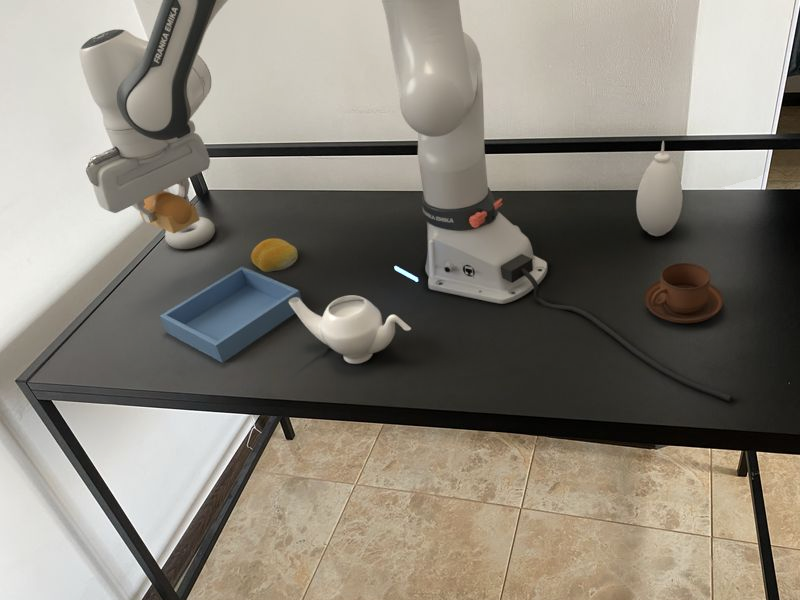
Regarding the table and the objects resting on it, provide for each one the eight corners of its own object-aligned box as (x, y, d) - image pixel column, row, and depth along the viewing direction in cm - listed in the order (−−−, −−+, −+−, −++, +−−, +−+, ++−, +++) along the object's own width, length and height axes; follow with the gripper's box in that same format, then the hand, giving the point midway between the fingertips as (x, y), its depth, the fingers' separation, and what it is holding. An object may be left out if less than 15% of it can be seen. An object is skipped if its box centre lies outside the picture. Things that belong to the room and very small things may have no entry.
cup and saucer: (696, 340, 113) (700, 306, 109) (629, 312, 120) (630, 280, 116) (736, 302, 119) (741, 269, 115) (669, 278, 126) (672, 247, 122)
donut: (159, 253, 151) (204, 252, 149) (153, 238, 149) (199, 237, 147) (181, 228, 159) (224, 227, 157) (176, 214, 157) (219, 212, 155)
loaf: (202, 221, 130) (193, 194, 127) (176, 235, 127) (166, 207, 124) (166, 206, 136) (156, 180, 133) (140, 219, 133) (129, 193, 130)
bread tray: (304, 309, 130) (299, 290, 127) (223, 365, 120) (215, 345, 117) (248, 285, 138) (242, 266, 135) (167, 335, 128) (159, 315, 125)
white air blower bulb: (687, 231, 137) (696, 138, 126) (661, 249, 133) (668, 154, 122) (652, 219, 142) (658, 127, 131) (626, 235, 138) (630, 143, 127)
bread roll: (270, 279, 139) (264, 261, 136) (247, 262, 144) (241, 244, 142) (307, 260, 143) (302, 242, 140) (284, 245, 148) (279, 227, 146)
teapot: (405, 381, 112) (395, 332, 106) (288, 364, 118) (273, 317, 112) (427, 342, 119) (419, 294, 113) (316, 328, 125) (303, 282, 119)
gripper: (92, 165, 114) (126, 243, 123) (201, 118, 126) (225, 192, 135) (71, 157, 118) (105, 234, 126) (179, 112, 130) (204, 185, 138)
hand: (168, 212), depth 131 cm, fingers closed on loaf, 5 cm apart
